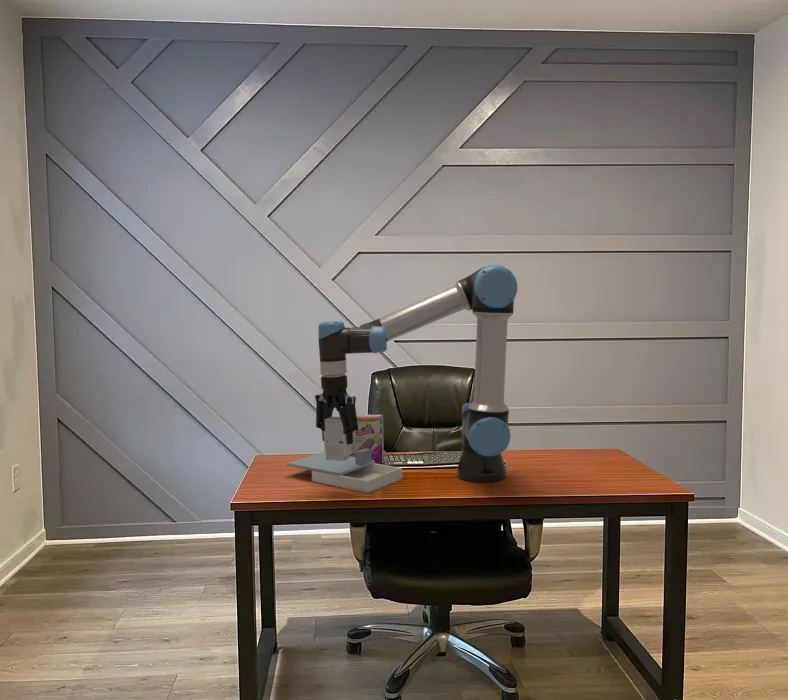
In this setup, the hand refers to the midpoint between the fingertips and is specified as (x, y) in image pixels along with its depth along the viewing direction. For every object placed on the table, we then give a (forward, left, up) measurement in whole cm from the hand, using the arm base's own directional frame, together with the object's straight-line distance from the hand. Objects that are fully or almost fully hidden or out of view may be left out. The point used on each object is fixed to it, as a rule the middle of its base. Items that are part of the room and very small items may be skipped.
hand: (338, 453), depth 202 cm
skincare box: (0, 0, -2) cm, 2 cm away
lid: (+14, -12, -8) cm, 20 cm away
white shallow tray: (+3, -12, -12) cm, 17 cm away
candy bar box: (+13, -30, -12) cm, 35 cm away
